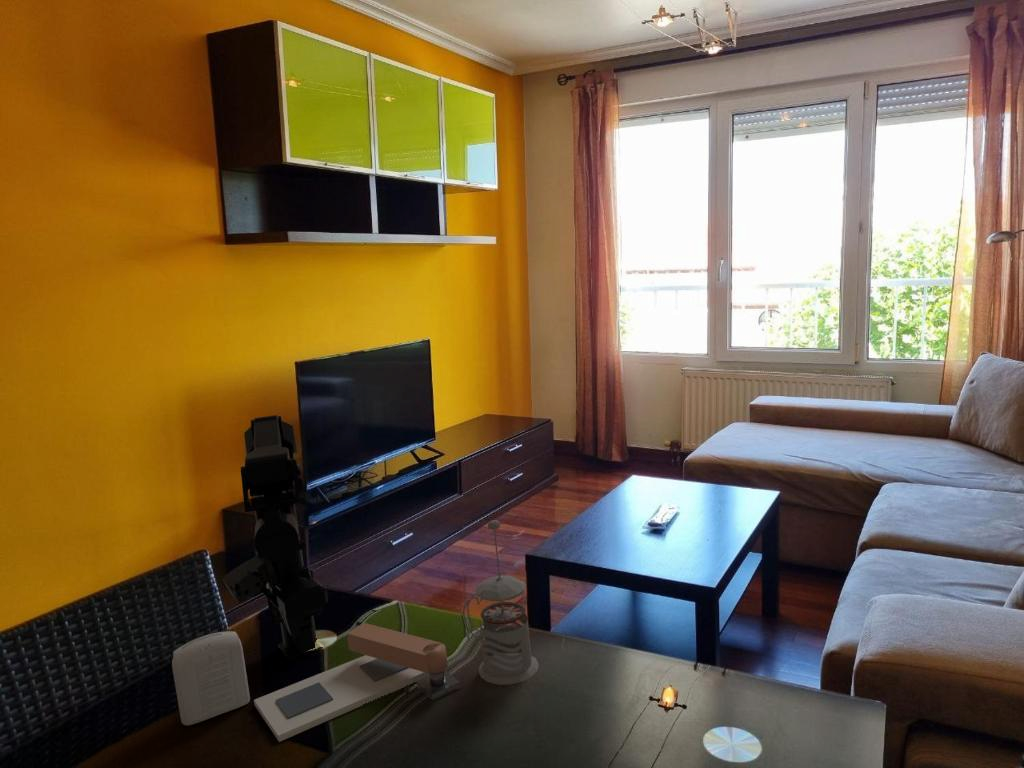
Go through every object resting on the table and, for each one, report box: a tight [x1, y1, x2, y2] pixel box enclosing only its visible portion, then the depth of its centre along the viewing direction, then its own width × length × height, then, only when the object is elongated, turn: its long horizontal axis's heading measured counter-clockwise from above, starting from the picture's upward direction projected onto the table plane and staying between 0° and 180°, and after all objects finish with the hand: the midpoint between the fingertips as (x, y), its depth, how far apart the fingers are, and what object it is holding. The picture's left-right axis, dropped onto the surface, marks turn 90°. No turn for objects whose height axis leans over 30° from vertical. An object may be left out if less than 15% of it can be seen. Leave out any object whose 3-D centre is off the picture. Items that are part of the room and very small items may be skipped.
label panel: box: [253, 655, 429, 743], centre depth 119 cm, size 12×26×1 cm, turn 125°
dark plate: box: [415, 669, 461, 702], centre depth 117 cm, size 5×5×3 cm
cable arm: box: [346, 622, 449, 673], centre depth 121 cm, size 19×4×3 cm, turn 57°
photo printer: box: [171, 631, 251, 726], centre depth 116 cm, size 10×4×12 cm, turn 123°
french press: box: [462, 519, 540, 686], centre depth 120 cm, size 10×12×25 cm
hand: (294, 634), depth 114 cm, fingers closed
